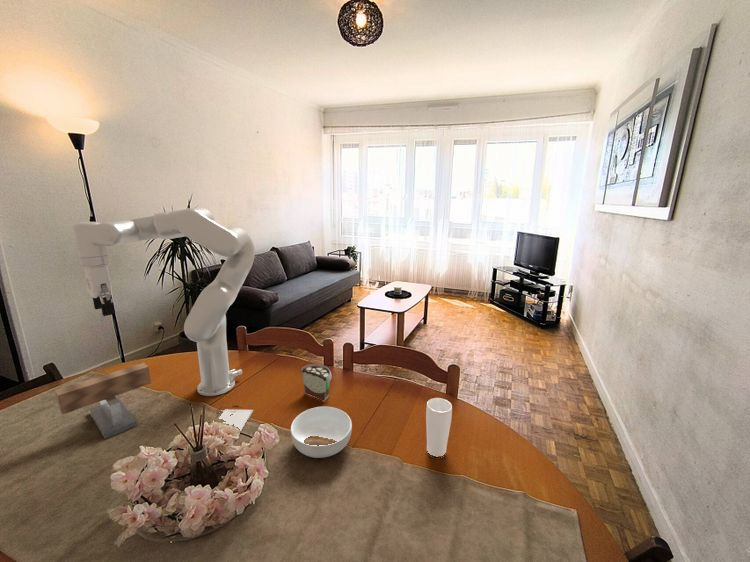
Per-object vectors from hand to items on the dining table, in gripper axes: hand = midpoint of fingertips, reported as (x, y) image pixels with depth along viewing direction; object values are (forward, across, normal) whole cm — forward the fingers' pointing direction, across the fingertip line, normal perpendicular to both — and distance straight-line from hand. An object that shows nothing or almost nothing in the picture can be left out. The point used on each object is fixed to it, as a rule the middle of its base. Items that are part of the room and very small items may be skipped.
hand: (104, 311), depth 114 cm
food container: (+31, +54, +46) cm, 77 cm away
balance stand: (+30, +16, -6) cm, 35 cm away
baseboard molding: (+31, +50, +9) cm, 60 cm away
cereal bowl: (+31, +74, +29) cm, 85 cm away
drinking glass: (+31, +100, +48) cm, 115 cm away
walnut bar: (+22, +16, -6) cm, 28 cm away
